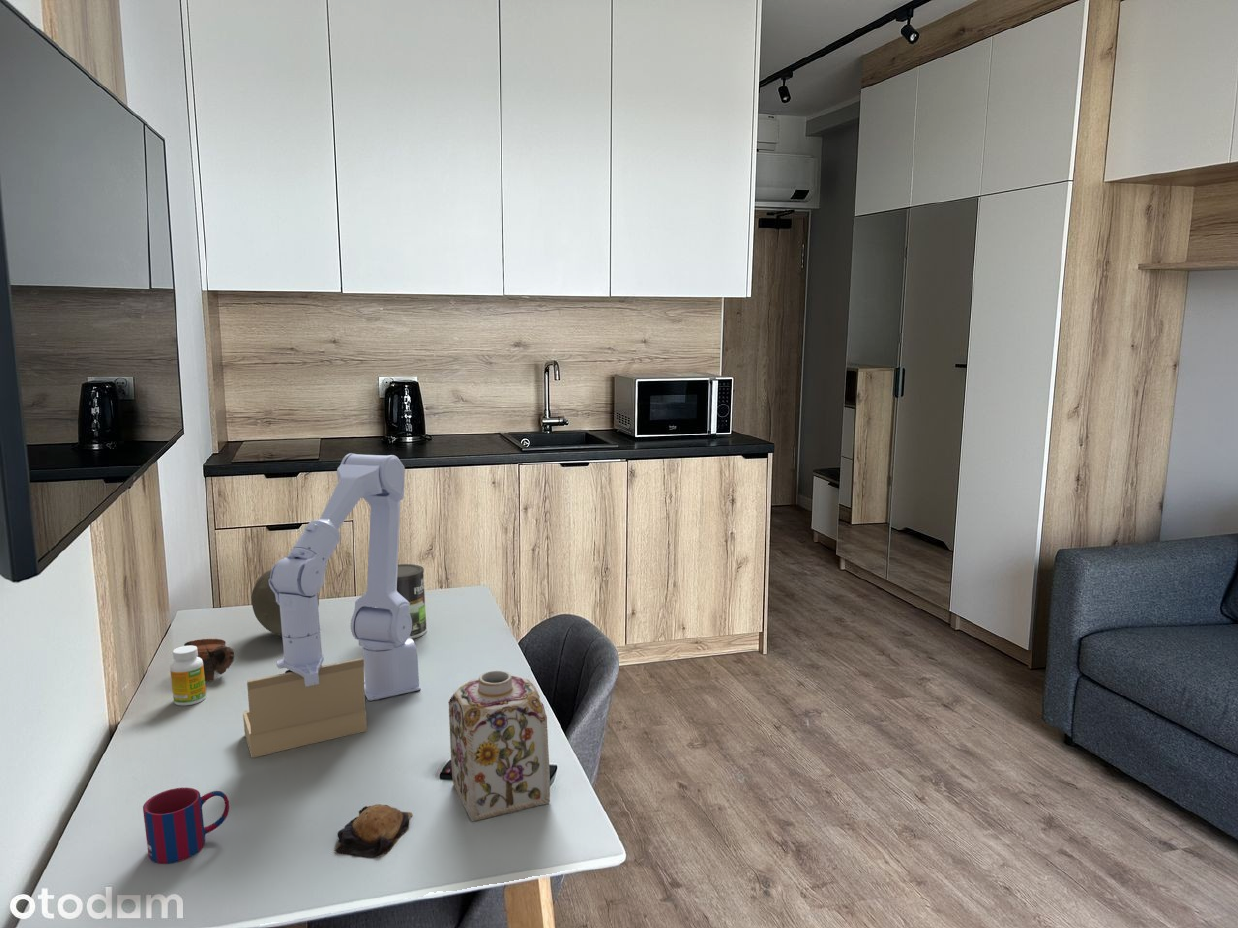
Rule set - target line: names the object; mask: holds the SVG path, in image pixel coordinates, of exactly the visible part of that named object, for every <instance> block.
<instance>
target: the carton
mask: <svg viewBox="0 0 1238 928" xmlns="http://www.w3.org/2000/svg"><path fill="white" fill-rule="evenodd" d="M242 718H243V728H244V737H245V740H246V743H247V746H248V750H249V753H250V756H251V759H253V758H257V757H261V756H265V755H270V754H275V753H278V752H282V751H287V750H291V749H295V748H299V747H303V746H309V745H312V744H316V743H320V742H325V741H329V740H334V739H339V738H343V737H347V736H350V735H355V734H358V733H364V732H367V731H368V725H367V709H366V708H365V710H361V711H356V712H352V713H347V714H343V715H338V716H334V717H330V718H325V719H321V720H316V721H312V722H307V723H303V724H298V725H294V726H290V727H285V728H281V729H276V730H272V731H267V732H263V733H258V734H254V735H251V728H250V714H249V710H247V711H243V712H242Z"/></svg>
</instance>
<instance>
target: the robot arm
mask: <svg viewBox="0 0 1238 928" xmlns="http://www.w3.org/2000/svg"><path fill="white" fill-rule="evenodd" d="M405 471H406V467H405V466H404V464H403V462H402V461H401V460H400V459H399V457H398V456H396V455H394V454H390V455H389V454H388V455H382V454H381V455H379V454H377V455H376V454H357V453H352V452H350V453H347V454H346V455H344V457H343V458H342V460H341V463H340V465H339V466H338V467H337V469H336V475H337V477H336V478H337V484H336V486H335V487H334V489H333V492H332V494H331V496H330V498H329V500H327V501H328V502H327V504H326V505H325V508H324V509H323V512H322V514H321V515H320V517H319V519H315V520H314V519H313V520H310V521H309V522H308V523H307V524H306V526H305V527H304V530H303V531H302V533H301V535H300V536H299V537H298V539H297V541H296V542H295V544H294V546H293V547H292V549H291V550H290V552H289V554H288V555H287V557H283V558H281V559H279V560H278V561H277V562H275V564H273V566H272V568H271V569H272V570H271V569H270V570H271V575H270V579H269V580H268V581H269V586H270V588H271V590H272V591H273V592H274V594H275V597H276V602H277V604H279V605H280V615H281V627H282V636H281V638H282V646H283V647H282V648H283V659H279V660H277V661H276V667H277V668H278V669H287V670H286V671H285V672H284V673H288V672H295V673H297V674H299V675H301V676H303V677H304V681H305V686H306V687H307V686H312V685H316V684H319V676H318V672H319V669H320V667H321V666H323V662H324V654H323V651H322V649H323V648H322V638H321V637H322V636H321V625H320V612H319V607H318V597H317V593H318V594H319V593H320V590H321V589H322V588H323V587H324V584H325V577H326V572H327V570H328V569H327V568H328V565H327V563H328V561H329V559H330V558H331V556H332V555H333V552H334V551H335V549H336V547H337V546H338V545H339V543H340V541H341V532H340V530H339V528H341V526H342V525H343V523H344V522H345V520H346V519H347V517H348V516H349V515H350V513H351V512H352V511H353V509H354V508H355V507H356V506H357V504H358V503H359V502H360V500H361V499H362V498H363V499H364V501H365V502H366V503H367V504H368V505H369V507H370V512H369V513H370V515H369V533H368V534H369V537H368V556H367V557H368V559H367V562H368V563H367V580H366V592H365V593H364V594H362V595H361V596H360V597H358V599H356V600H355V602H354V611H353V615H352V616H351V620H350V632H351V635H352V637H353V638H354V639H355V640H357V641H358V646H359V647H362V658H363V659H364V693H365V698H367V700H368V701H370V702H371V701H376V700H380V699H386V698H390V697H395V696H398V695H402V694H408V693H411V692H416V691H417V692H418V691H420V690H421V686H420V675H419V660H418V652H417V646H416V644H415V641H414V639H411V638H409V636H410V634H411V630H412V619H411V616H410V603H409V602H408V601H407V600H406V599H405V598H404V597H403V596H401V595H400V594H399V593H398V592H397V569H398V565H399V542H400V541H399V540H400V521H401V520H400V519H401V517H400V516H401V500H403V499H404V495H405V476H406V475H405V473H406V472H405ZM384 608H386V609H384Z"/></svg>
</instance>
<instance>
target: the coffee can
mask: <svg viewBox="0 0 1238 928" xmlns="http://www.w3.org/2000/svg"><path fill="white" fill-rule="evenodd" d="M424 570H425V569H424V567H423V566H421V565H418V564H411V563H410V564H409V563H406V564H405V563H403V564H402V563H401V564H398V569H397V592H398V593H399V594H400V595H401V596H403V597H404V598H405V599H406V600H407V601H408V602H409V603H410V616H411V619H412V630H411V634H410V636H409V638H411V639H413V640H414V639H418V638H420V637H421V636H424V635H425V634H426V633H427V632H428V628H427V615H426V614H427V613H426V598H425V597H426V595H425V593H426V592H425V581H424V580H425V579H424V572H425V571H424ZM384 609H386V608H384Z"/></svg>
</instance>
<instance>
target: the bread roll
mask: <svg viewBox="0 0 1238 928" xmlns="http://www.w3.org/2000/svg"><path fill="white" fill-rule="evenodd" d="M412 817H413V812H411V811H410V812H409V811H401V810H400V809H398V808H396V807H392V806H390V805H387V804H378V803H377V804H373V805H369V806H367V805H366V806H365V805H364V806H363V807H362V808H361V809H360V810H358V816H356V817H354V818H352V820H350V821H349V822H348V823H347V824H345V826H344V827H343V828H341V829H340V830H338V831H337V836H336V837H337V838H338V843H337V844H336V846H335V848H334V849H333V851H334V852H333V853H334V854H336V855H345V856H352V857H355V856H356V857H359V858H363V859H364V858H366V859H370V858H378V857H380V856H385V855H387V854H388V853H389V852H390V851H391V849H392V848H393V847H394V846H395V845H396V844H397V843H398V841H399V840H400V838H401V836H402V835H403V833H406V831H407V829H408V828H409V826H410V822H411V818H412Z"/></svg>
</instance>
